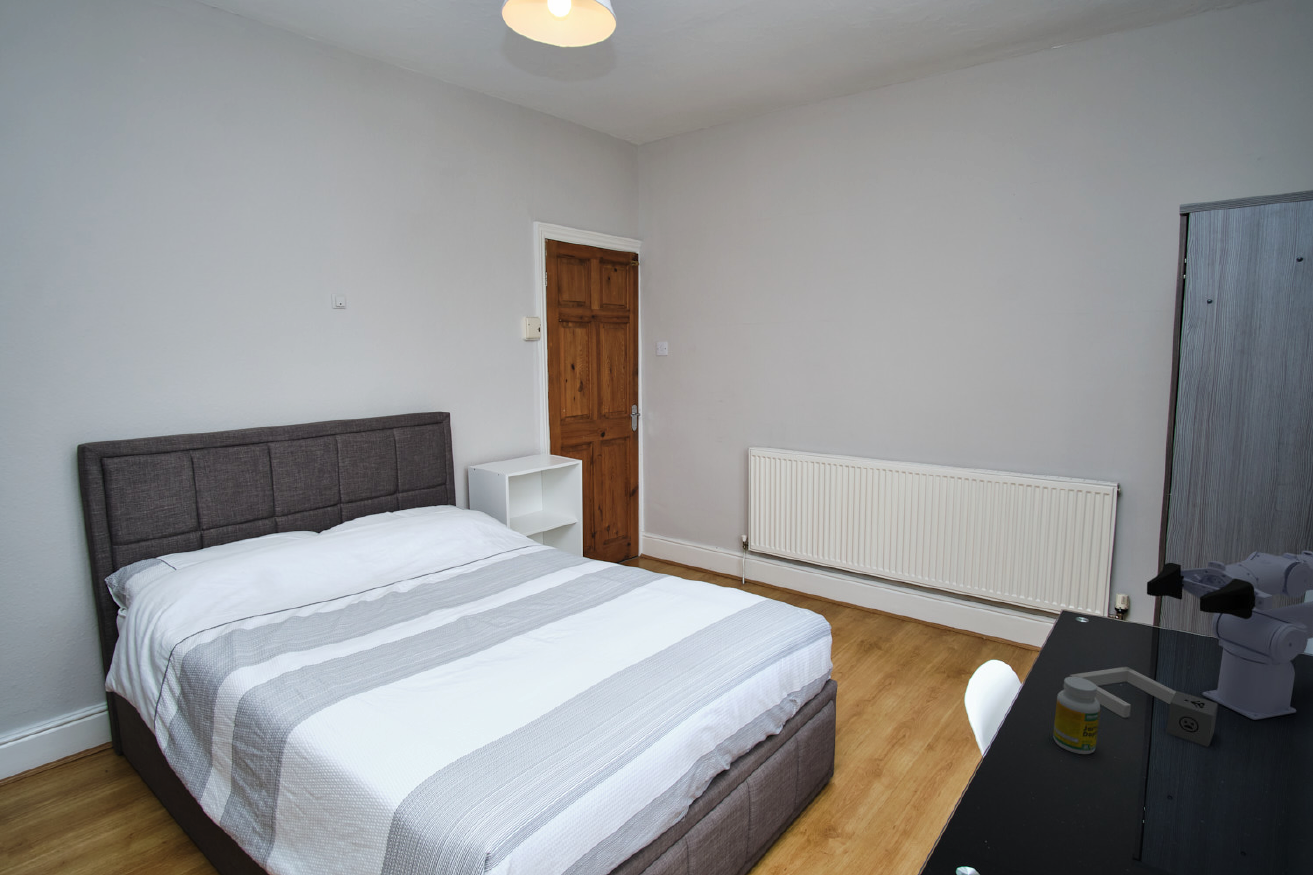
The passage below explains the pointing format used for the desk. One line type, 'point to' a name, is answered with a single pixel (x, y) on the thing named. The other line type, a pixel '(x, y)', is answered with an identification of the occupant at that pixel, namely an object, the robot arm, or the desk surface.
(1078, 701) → the supplement bottle
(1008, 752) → the desk surface
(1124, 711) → the grey angular bar shape
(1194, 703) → the dice cube
